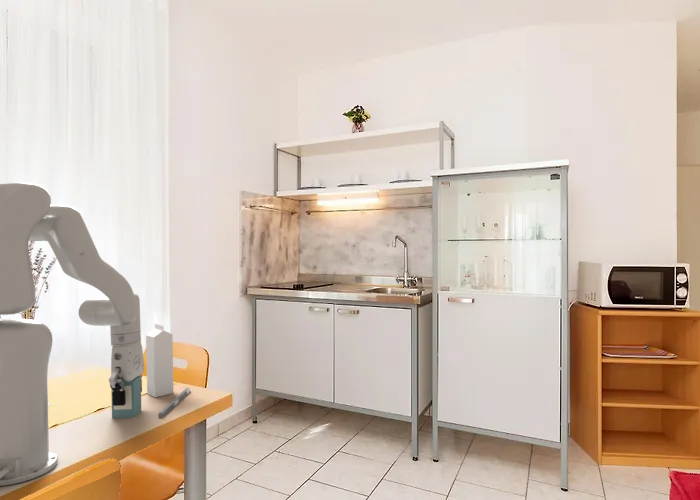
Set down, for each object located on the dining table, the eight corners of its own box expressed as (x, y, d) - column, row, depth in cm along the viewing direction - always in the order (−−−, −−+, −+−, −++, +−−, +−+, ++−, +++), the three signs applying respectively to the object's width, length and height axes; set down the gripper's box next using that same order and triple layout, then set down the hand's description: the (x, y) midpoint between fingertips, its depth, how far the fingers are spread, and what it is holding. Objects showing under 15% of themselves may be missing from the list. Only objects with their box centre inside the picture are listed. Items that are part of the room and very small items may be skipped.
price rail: (163, 417, 120) (163, 413, 120) (158, 417, 120) (158, 413, 120) (190, 391, 142) (190, 387, 142) (186, 391, 142) (186, 387, 142)
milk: (155, 397, 137) (153, 327, 137) (146, 393, 141) (145, 325, 141) (174, 392, 141) (172, 324, 141) (165, 389, 146) (164, 322, 145)
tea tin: (141, 411, 125) (140, 376, 125) (133, 417, 121) (133, 381, 121) (120, 411, 125) (119, 376, 125) (111, 418, 121) (111, 381, 121)
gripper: (124, 345, 115) (126, 410, 115) (152, 331, 132) (154, 388, 132) (95, 345, 114) (97, 411, 115) (127, 332, 132) (129, 388, 132)
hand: (128, 398), depth 124 cm, fingers open, 9 cm apart
